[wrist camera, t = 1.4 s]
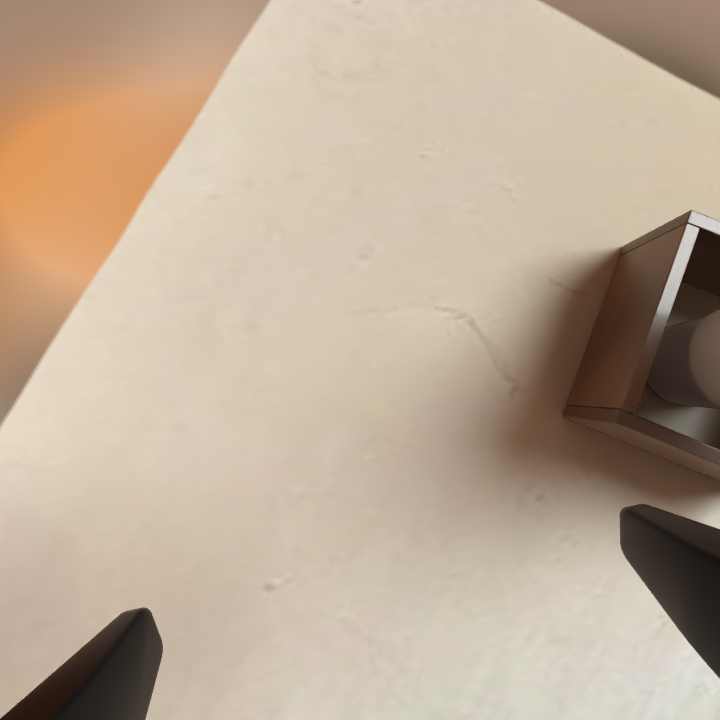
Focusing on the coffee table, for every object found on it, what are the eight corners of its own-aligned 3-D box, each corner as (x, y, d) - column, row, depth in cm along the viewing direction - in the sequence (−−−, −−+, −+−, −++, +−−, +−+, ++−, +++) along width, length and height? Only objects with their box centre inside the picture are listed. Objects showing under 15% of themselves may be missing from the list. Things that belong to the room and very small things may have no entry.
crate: (739, 489, 21) (842, 516, 17) (561, 415, 21) (616, 423, 17) (795, 314, 22) (907, 295, 18) (623, 245, 22) (691, 209, 18)
